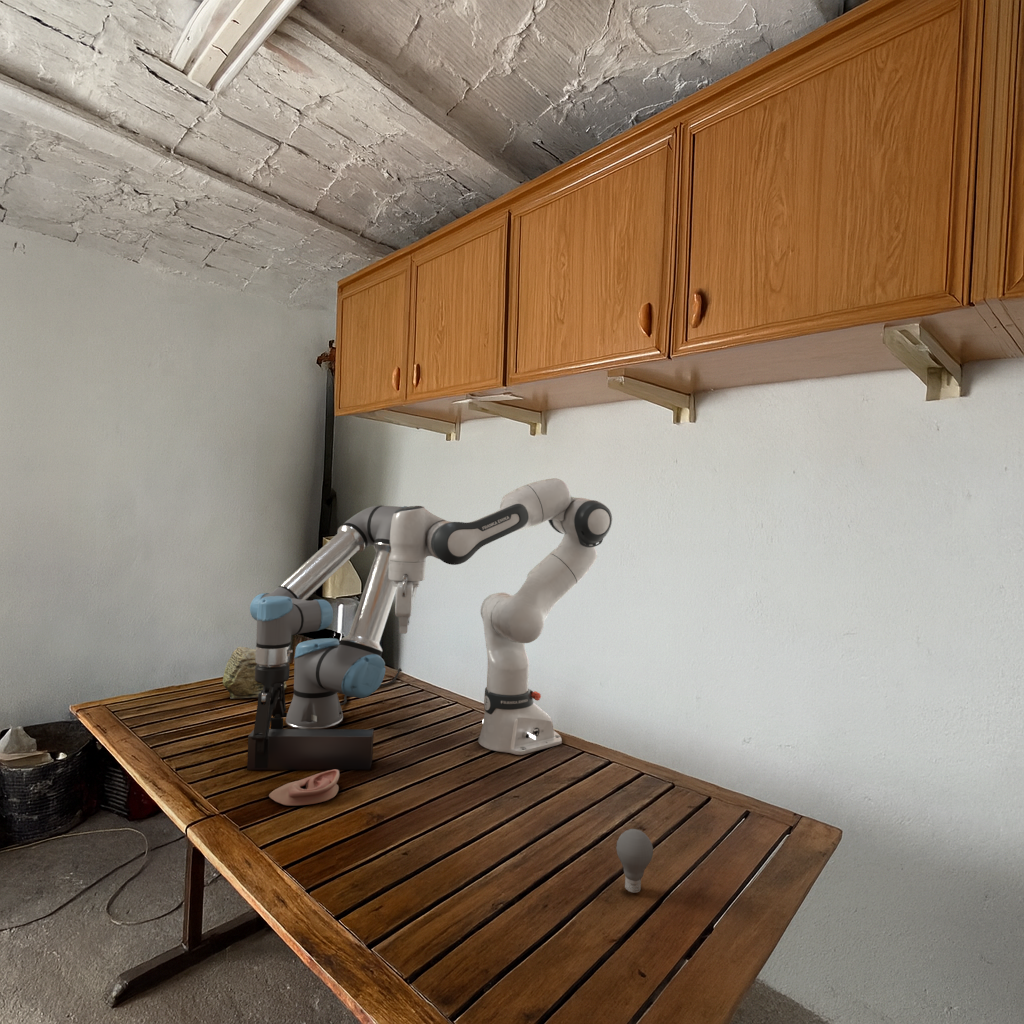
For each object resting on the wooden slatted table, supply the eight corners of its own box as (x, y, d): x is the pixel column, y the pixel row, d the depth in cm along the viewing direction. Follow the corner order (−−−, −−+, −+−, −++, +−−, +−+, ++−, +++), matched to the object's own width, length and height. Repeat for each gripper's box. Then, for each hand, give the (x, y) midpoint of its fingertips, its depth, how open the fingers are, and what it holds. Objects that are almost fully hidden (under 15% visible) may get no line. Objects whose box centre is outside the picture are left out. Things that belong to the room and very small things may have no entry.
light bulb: (610, 879, 108) (613, 822, 108) (644, 879, 109) (647, 822, 109) (619, 902, 102) (622, 840, 102) (655, 901, 103) (658, 840, 103)
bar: (246, 770, 145) (248, 736, 145) (252, 761, 150) (254, 728, 149) (370, 769, 148) (371, 736, 148) (372, 761, 153) (373, 729, 152)
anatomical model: (261, 782, 130) (291, 760, 141) (260, 801, 130) (290, 778, 141) (320, 791, 127) (346, 768, 139) (319, 811, 127) (345, 786, 139)
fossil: (218, 695, 195) (220, 647, 195) (278, 685, 208) (279, 640, 207) (228, 703, 189) (230, 653, 188) (289, 692, 201) (290, 645, 201)
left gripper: (275, 678, 136) (271, 778, 136) (300, 651, 160) (297, 736, 160) (239, 678, 135) (235, 778, 135) (270, 650, 159) (266, 736, 159)
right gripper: (418, 578, 144) (415, 638, 144) (421, 568, 165) (419, 621, 165) (390, 577, 143) (387, 638, 144) (396, 567, 164) (394, 620, 164)
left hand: (269, 755), depth 148 cm, fingers open, 12 cm apart
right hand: (404, 628), depth 154 cm, fingers open, 8 cm apart
